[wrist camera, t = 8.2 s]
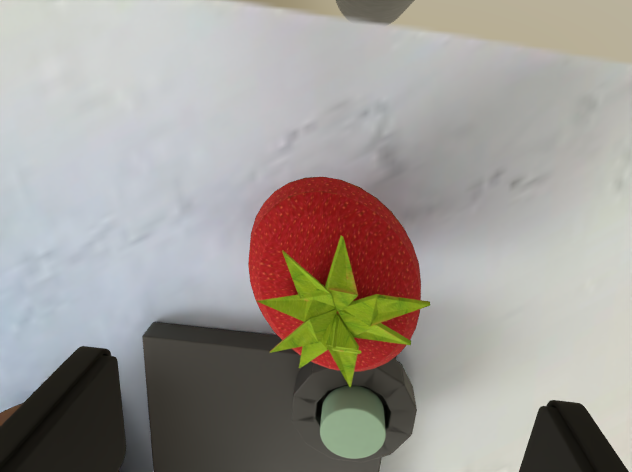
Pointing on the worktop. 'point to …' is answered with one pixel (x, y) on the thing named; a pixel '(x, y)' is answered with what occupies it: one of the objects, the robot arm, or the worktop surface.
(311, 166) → the worktop surface
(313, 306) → the strawberry
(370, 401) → the button
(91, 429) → the robot arm
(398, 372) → the scale
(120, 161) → the worktop surface
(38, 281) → the worktop surface
